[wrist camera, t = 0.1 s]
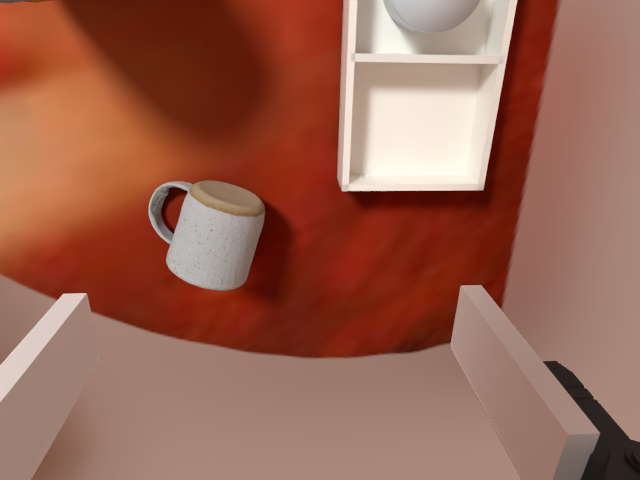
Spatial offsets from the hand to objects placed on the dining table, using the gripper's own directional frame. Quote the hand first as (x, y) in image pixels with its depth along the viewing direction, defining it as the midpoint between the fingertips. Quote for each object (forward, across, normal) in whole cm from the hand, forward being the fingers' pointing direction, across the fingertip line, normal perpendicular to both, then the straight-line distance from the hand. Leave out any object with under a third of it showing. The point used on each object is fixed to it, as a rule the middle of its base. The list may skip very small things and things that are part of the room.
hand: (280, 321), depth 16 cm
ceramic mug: (+28, -8, -7) cm, 30 cm away
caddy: (+28, +12, +8) cm, 31 cm away
